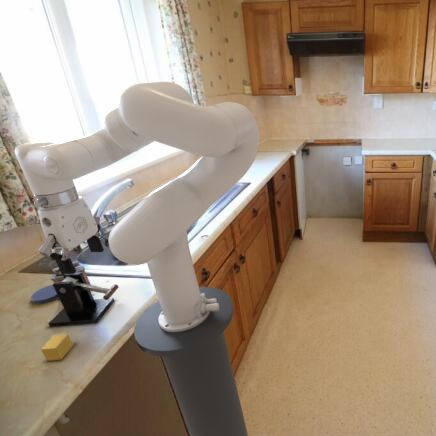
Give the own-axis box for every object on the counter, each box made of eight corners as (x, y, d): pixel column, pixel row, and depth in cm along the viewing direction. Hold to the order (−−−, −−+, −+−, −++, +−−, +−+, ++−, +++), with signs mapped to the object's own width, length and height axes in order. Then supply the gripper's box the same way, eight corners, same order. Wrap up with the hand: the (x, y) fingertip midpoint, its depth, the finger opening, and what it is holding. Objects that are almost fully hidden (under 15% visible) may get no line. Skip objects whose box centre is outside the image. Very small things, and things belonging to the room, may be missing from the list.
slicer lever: (118, 290, 90) (119, 283, 89) (108, 302, 85) (109, 295, 84) (70, 280, 87) (70, 273, 86) (57, 292, 83) (57, 284, 82)
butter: (60, 346, 78) (54, 335, 77) (73, 344, 79) (68, 333, 77) (47, 360, 74) (40, 349, 73) (61, 359, 75) (55, 348, 73)
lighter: (60, 301, 94) (46, 273, 90) (60, 296, 97) (46, 268, 92) (93, 290, 99) (81, 262, 94) (92, 285, 101) (80, 257, 97)
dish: (71, 286, 101) (70, 282, 101) (54, 302, 94) (52, 299, 93) (45, 287, 101) (43, 284, 100) (25, 304, 93) (23, 301, 93)
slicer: (114, 301, 93) (101, 266, 88) (96, 323, 85) (80, 286, 80) (72, 304, 93) (55, 270, 88) (49, 326, 85) (30, 290, 80)
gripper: (40, 212, 64) (71, 282, 72) (99, 184, 80) (120, 244, 87) (5, 213, 65) (40, 282, 72) (71, 185, 81) (94, 244, 88)
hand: (84, 261), depth 80 cm, fingers open, 9 cm apart
